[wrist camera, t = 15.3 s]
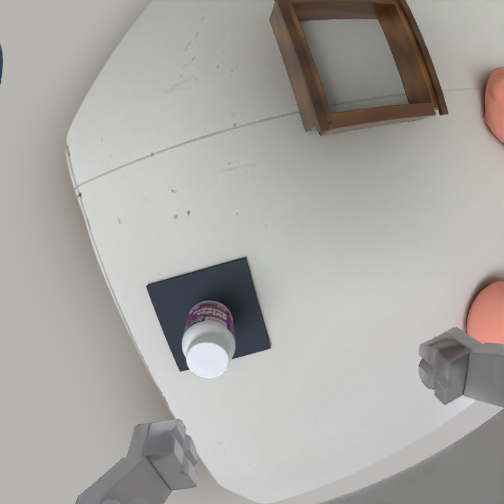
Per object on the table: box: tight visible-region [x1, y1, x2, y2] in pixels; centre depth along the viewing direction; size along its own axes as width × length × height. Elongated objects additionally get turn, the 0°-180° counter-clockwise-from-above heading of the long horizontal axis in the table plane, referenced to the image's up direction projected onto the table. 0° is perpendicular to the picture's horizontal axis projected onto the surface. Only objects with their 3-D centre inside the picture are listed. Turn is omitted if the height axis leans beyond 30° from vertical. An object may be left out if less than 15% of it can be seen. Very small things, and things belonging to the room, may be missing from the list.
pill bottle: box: [182, 301, 235, 378], centre depth 32 cm, size 5×5×10 cm
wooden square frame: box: [269, 0, 448, 136], centre depth 30 cm, size 17×18×6 cm
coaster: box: [146, 258, 271, 372], centre depth 37 cm, size 12×12×1 cm
